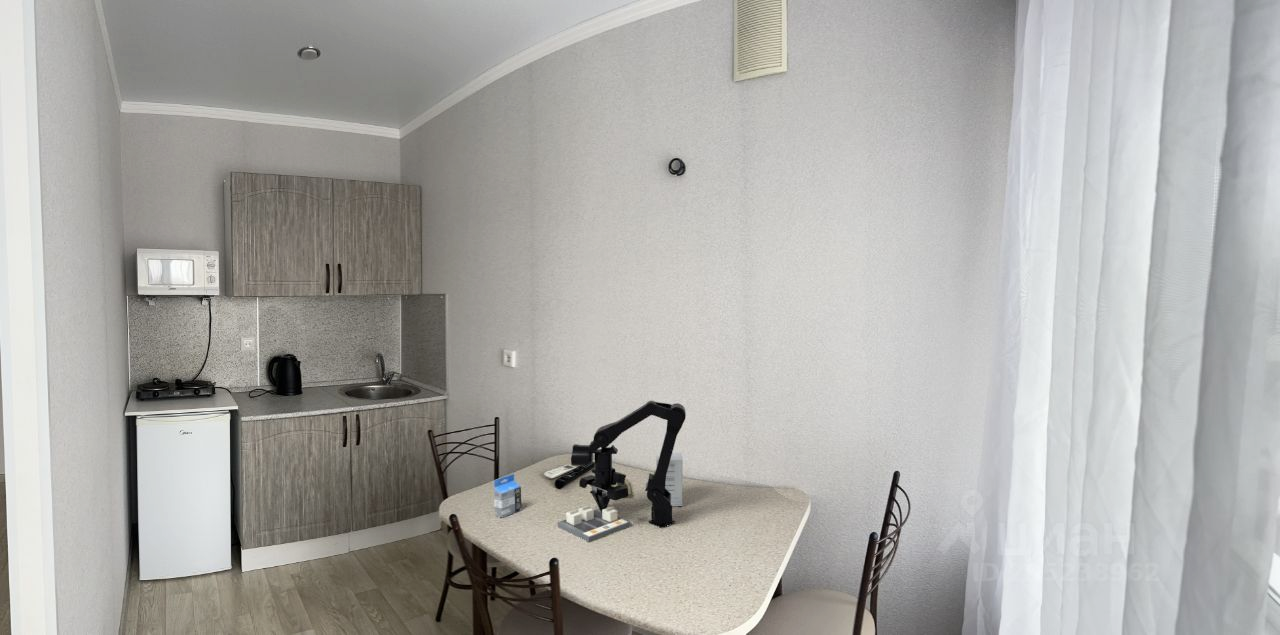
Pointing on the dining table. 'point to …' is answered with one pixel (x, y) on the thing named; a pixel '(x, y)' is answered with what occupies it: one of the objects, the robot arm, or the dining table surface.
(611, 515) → the slider
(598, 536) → the switch panel
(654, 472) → the robot arm
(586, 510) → the slider middle
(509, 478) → the label tape box
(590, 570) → the dining table surface
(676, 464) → the small drawer cabinet
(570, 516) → the slider
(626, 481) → the computer
